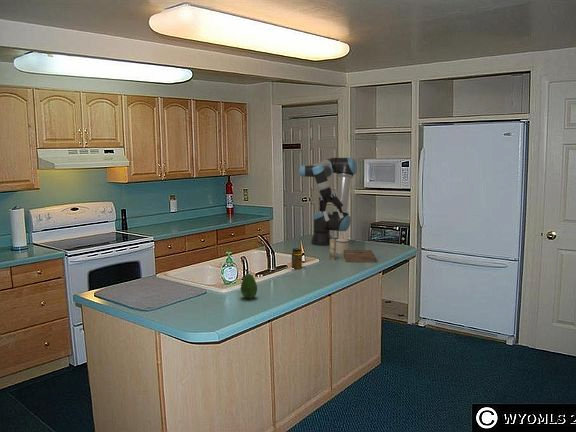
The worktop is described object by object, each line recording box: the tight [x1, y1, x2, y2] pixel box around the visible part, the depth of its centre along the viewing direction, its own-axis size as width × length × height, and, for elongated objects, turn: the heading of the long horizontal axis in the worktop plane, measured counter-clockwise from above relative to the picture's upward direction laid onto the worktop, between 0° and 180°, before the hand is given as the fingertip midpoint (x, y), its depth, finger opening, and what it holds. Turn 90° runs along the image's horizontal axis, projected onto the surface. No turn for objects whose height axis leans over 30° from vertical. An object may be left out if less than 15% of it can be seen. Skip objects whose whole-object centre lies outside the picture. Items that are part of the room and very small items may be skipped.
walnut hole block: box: [343, 249, 376, 263], centre depth 331 cm, size 16×18×4 cm
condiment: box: [291, 247, 305, 271], centre depth 306 cm, size 7×8×12 cm
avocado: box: [240, 273, 258, 299], centre depth 249 cm, size 8×8×12 cm
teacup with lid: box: [335, 235, 350, 255], centre depth 349 cm, size 12×9×12 cm
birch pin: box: [329, 238, 337, 261], centre depth 331 cm, size 4×4×13 cm
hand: (334, 219), depth 337 cm, fingers open, 13 cm apart
